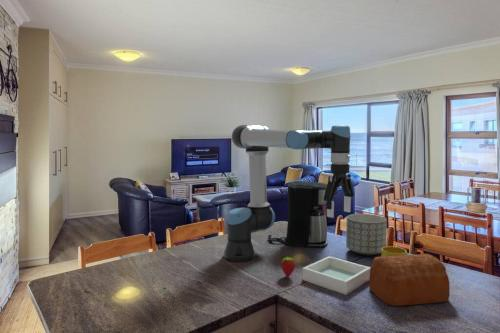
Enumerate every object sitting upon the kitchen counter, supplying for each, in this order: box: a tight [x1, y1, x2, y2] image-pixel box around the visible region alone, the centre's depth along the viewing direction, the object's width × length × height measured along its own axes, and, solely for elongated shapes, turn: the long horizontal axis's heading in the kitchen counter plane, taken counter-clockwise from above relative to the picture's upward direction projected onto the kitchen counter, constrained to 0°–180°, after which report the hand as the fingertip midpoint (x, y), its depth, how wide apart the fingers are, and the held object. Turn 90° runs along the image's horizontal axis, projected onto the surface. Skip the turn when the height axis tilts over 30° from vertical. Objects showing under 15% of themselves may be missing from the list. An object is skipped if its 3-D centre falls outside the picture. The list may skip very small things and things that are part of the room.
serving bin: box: [302, 256, 371, 296], centre depth 145 cm, size 20×20×5 cm
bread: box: [368, 253, 451, 307], centre depth 130 cm, size 17×24×15 cm
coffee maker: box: [267, 180, 329, 248], centre depth 194 cm, size 23×32×34 cm
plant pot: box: [380, 245, 408, 257], centre depth 153 cm, size 10×10×10 cm
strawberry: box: [280, 255, 296, 278], centre depth 147 cm, size 6×8×10 cm
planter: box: [345, 213, 388, 257], centre depth 177 cm, size 19×19×18 cm
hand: (338, 214), depth 146 cm, fingers open, 13 cm apart
